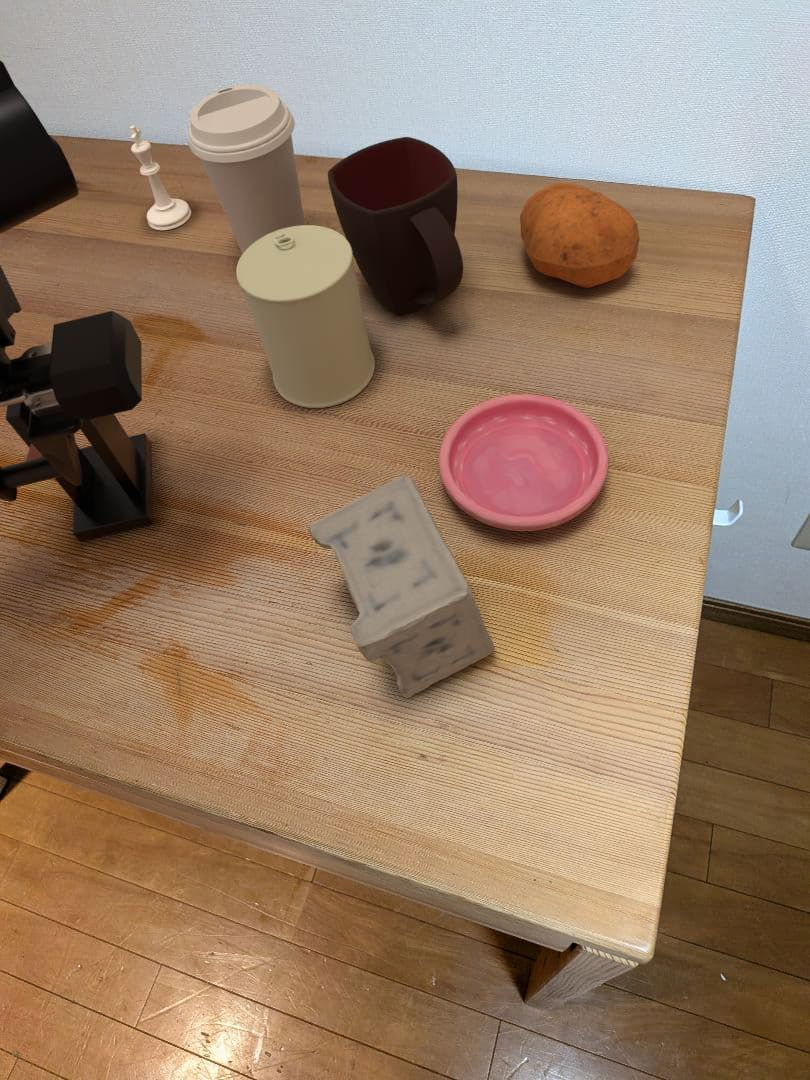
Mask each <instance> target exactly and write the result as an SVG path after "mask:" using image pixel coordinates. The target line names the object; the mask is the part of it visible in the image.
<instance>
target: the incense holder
mask: <svg viewBox="0 0 810 1080" xmlns="http://www.w3.org/2000/svg"><path fill="white" fill-rule="evenodd" d="M308 533H309V535H310V538H312V539H313V541H314V542H315V543H316V544H317V545H318V546H319V547H320V548H322V549H326V550H332V552H333V555H334V557H335V558H336V560H337V562H338V565H339V567H340V570H341V573H342V575H343V577H344V583H345V587H346V589H347V590H348V592H349V594H350V596H351V599H352V600H353V603H354V605H355V607H356V609H357V611H358V612H357V613H358V616H357V617H356V619H355V620H354V621H353V622H352V623H351V624H350V628H349V629H350V632H351V635H352V638H353V640H354V641H355V645H356V647H357V649H358V651H359V652H360V654H361V655H362V656H363V658H364V659H366V660H367V661H368V662H374V661H376V660H379V659H381V658H382V659H383V660H384V661H385V662H386V663H387V664H388V665H389V666H390V667H391V669H392V670H393V672H394V673H395V676H396V684H397V685H396V686H397V687H398V690H399V692H400V694H402V697H404V698H407V699H409V698H411V697H412V696H413V695H415V694H419V693H420V692H422V691H424V690H426V689H427V688H428V687H430V686H432V685H433V684H436V683H437V682H439V681H441V680H443V679H446V678H449V677H450V676H451V675H453V674H455V673H457V672H459V671H461V670H463V669H465V668H467V667H469V666H470V665H473V664H475V663H476V662H479V661H481V660H483V659H485V658H487V657H488V656H489V655H491V654H494V653H495V649H496V647H495V645H494V641H493V639H492V638H491V636H490V634H489V632H488V629H487V627H486V625H485V622H484V620H483V618H482V615H481V613H480V610H479V608H478V606H477V603H476V600H475V598H474V595H473V592H472V589H471V586H470V585H469V582H468V580H467V578H466V576H465V575H464V572H463V571H462V569H461V567H460V566H459V564H458V562H457V560H456V558H455V557H454V555H453V553H452V551H451V549H450V547H449V546H448V544H447V542H446V540H445V538H444V537H443V535H442V533H441V531H440V529H439V528H438V526H437V524H436V522H435V520H434V518H433V515H432V514H431V512H430V510H429V508H428V506H427V504H426V502H425V500H424V498H423V496H422V495H421V492H420V490H419V488H418V486H417V483H416V482H415V481H414V479H413V478H412V477H411V475H407V474H406V475H402V476H397V477H395V478H393V479H392V480H391V481H389V482H386V483H385V484H383V485H381V486H379V487H377V488H374V489H373V490H371V491H369V492H368V493H365V494H363V495H360V496H359V497H357V498H355V499H354V500H352V501H351V502H348V503H346V504H345V505H343V506H342V507H340V508H337V509H335V510H333V512H331V513H328V514H326V515H325V516H323V517H321V518H320V519H318V520H317V521H314V522H310V523H309V524H308Z"/></svg>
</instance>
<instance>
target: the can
mask: <svg viewBox="0 0 810 1080" xmlns="http://www.w3.org/2000/svg"><path fill="white" fill-rule="evenodd" d="M355 269H356V268H355V263H354V256H353V253H352V248H351V246H350V244H349V242H348V241H347V239H346V237H345V235H342V234H341V233H340V232H338V231H337V230H334V229H332V228H329V227H326V226H321V225H313V224H312V225H311V224H305V225H301V226H293V227H288V228H283V229H280V230H277V231H274V232H272V233H270V234H267V235H265V236H264V237H262V238H260V239H259V240H257V241H256V242H254V243H253V244H252V245H251V246H249V247H248V248H247V249H246V251H245V252H244V253H241V256H240V257H239V259H238V262H237V265H236V270H235V271H236V272H235V274H236V275H235V276H236V280H237V282H238V284H239V286H240V288H241V291H242V293H243V296H244V298H245V301H246V303H247V306H248V309H249V311H250V314H251V317H252V320H253V322H254V325H255V329H256V331H257V333H258V335H259V339H260V342H261V345H262V348H263V350H264V353H265V356H266V359H267V362H268V365H269V368H270V370H271V371H270V372H271V374H272V381H273V385H274V387H275V390H276V391H277V393H279V395H280V397H282V398H283V399H284V400H285V401H287V402H289V403H290V404H292V405H295V406H297V407H302V408H307V409H324V408H325V409H326V408H330V407H334V406H338V405H340V404H343V403H345V402H348V401H350V400H352V399H353V398H355V397H356V396H358V395H359V394H360V393H362V391H364V390H365V388H366V387H368V385H369V384H370V382H371V380H372V378H373V375H374V373H375V369H376V359H375V357H374V353H373V351H372V349H371V343H370V340H369V335H368V330H367V326H366V321H365V317H364V311H363V307H362V305H363V304H362V301H361V296H360V291H359V285H358V280H357V276H356V270H355Z"/></svg>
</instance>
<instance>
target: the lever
mask: <svg viewBox="0 0 810 1080" xmlns="http://www.w3.org/2000/svg"><path fill="white" fill-rule="evenodd" d="M29 406H30V405H29ZM61 476H62V475H61V474H60V473H59V472H58V471H57V470H56V469H55V468H54V467H53V466H52V465H51V464H50V462H49V461H48V460H47V459H46V458H45V457H44V456H43V455H42V454H41V453H40V452H39V451H38V450H37V449H36V448H35V447H34V446H33V445H32V444H31V446H30V448H28V452H27V455H26V458H25V460H24V461H23V462H18V463H13V464H9V465H6V466H1V468H0V482H1V484H2V485H3V486H4V487H5V488H6V489H12V488H20V487H24V486H28V485H32V484H36V483H41V482H45V481H49V480H52V479H55V478H57V477H61Z"/></svg>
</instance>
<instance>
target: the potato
mask: <svg viewBox="0 0 810 1080" xmlns="http://www.w3.org/2000/svg"><path fill="white" fill-rule="evenodd" d="M519 223H520V224H519V225H520V237H521V240H522V242H523V245H524V249H525V251H526V253H527V255H528V257H529V259H530V261H531V263H532V265H533V267H534V269H535V270H537V271H538V272H540V273H541V274H543V275H545V276H549V277H554V278H556V279H557V278H558V279H560V280H563V281H566V282H568V283H571V284H573V285H576V286H579V287H581V288H593V287H595V286H599V285H602V284H605V283H608V282H611V281H613V280H615V279H619V278H621V276H623V275H624V274H626V272H628V270H629V269H630V267H631V266H632V265H633V263H634V262H635V260H636V258H637V255H638V250H639V245H640V233H639V227H638V223H637V222H636V219H634V217H633V215H632V214H631V213H630V212H629V211H628V210H627V209H626V208H625V207H624V206H622V205H621V204H619V203H618V202H616V201H614V200H613V199H611V198H610V197H608V196H607V195H605V194H603V193H602V192H599V191H596V190H593V189H590V188H588V187H585V186H583V185H581V184H576V183H571V182H560V183H553V184H550V185H548V186H545V187H543V188H540V189H538V190H536V192H534V194H533V195H531V196H530V197H529V198H528V199H527V201H526V203H525V204H524V206H523V208H522V210H521V213H520V215H519Z"/></svg>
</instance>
